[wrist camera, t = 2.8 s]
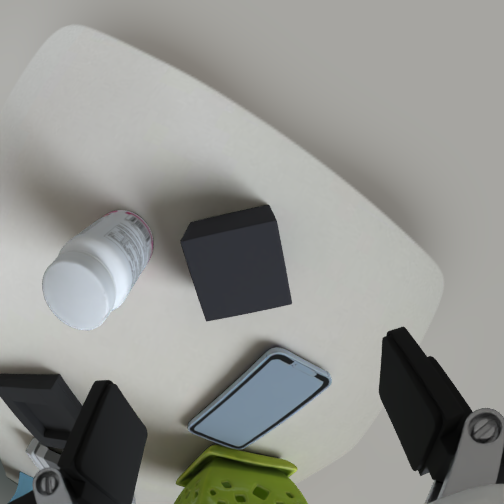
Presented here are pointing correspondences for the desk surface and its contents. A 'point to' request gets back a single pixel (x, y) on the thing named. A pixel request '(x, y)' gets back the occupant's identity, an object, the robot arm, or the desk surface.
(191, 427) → the smartphone
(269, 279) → the dark grey square block
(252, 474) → the flower pot
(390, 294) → the desk surface
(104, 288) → the pill bottle
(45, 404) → the base pad
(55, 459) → the alarm clock
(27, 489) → the vase
